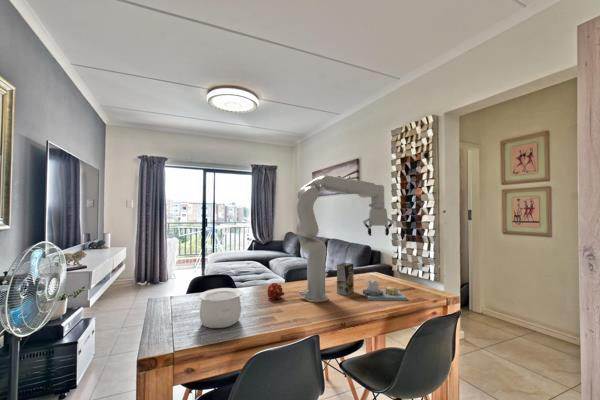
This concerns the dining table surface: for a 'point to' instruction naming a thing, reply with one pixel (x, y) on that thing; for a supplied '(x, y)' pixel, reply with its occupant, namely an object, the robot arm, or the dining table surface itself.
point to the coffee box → (345, 278)
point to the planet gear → (372, 289)
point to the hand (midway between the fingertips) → (378, 235)
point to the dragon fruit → (275, 291)
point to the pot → (220, 307)
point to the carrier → (388, 294)
